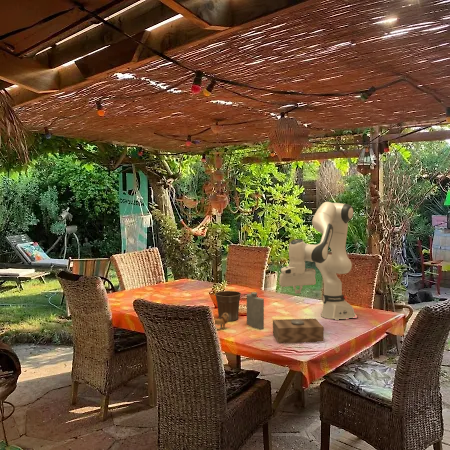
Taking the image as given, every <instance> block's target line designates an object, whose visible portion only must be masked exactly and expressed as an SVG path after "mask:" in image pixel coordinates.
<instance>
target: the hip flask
mask: <svg viewBox="0 0 450 450" xmlns="http://www.w3.org/2000/svg"><path fill="white" fill-rule="evenodd" d="M264 301H265V298H261V297H258V292H254V291H253V292H250V293H247V294H246V324H247V325H248V326H250V327H252V328H254V329H257V330H260V331H261V330H264V329H265V314H264V313H265V302H264Z"/></svg>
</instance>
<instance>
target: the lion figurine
mask: <svg viewBox="0 0 450 450" xmlns="http://www.w3.org/2000/svg"><path fill="white" fill-rule="evenodd" d="M213 319H214V320H215V326H220V327H219V328H220V330H221V329H222V328H223V329H222V330H224V329H225V330H226V328H225V327H226V325H227V324H228V322H229V321H228V319H229V315H228V313H223V314H222V316H221V318H219V317H218V318H213Z"/></svg>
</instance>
